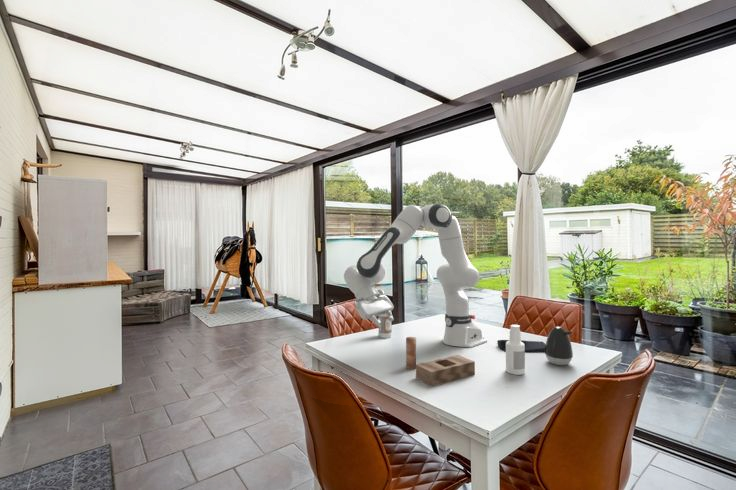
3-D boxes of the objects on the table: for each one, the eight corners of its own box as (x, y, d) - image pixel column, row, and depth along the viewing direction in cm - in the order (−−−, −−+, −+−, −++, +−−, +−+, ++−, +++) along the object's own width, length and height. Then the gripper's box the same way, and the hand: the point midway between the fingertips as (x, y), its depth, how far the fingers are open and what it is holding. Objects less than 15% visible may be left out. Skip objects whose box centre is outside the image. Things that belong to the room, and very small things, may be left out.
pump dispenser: (564, 369, 137) (564, 331, 137) (539, 362, 146) (539, 325, 146) (578, 364, 143) (578, 327, 143) (553, 357, 152) (553, 322, 151)
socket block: (458, 367, 141) (457, 354, 141) (474, 374, 134) (474, 361, 133) (416, 377, 131) (415, 364, 131) (431, 386, 123) (431, 372, 123)
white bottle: (523, 376, 131) (523, 328, 131) (504, 373, 135) (503, 326, 135) (526, 370, 137) (525, 324, 137) (507, 367, 141) (507, 322, 140)
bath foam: (383, 339, 182) (383, 300, 182) (376, 336, 188) (375, 299, 188) (394, 337, 186) (393, 299, 186) (386, 334, 192) (386, 297, 192)
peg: (412, 365, 144) (412, 336, 144) (418, 368, 141) (418, 338, 140) (404, 367, 142) (404, 337, 142) (410, 370, 139) (409, 340, 138)
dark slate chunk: (553, 354, 157) (553, 344, 157) (502, 353, 159) (502, 343, 159) (541, 344, 172) (541, 334, 172) (494, 343, 174) (494, 334, 174)
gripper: (356, 295, 145) (375, 322, 139) (385, 290, 161) (403, 313, 155) (348, 305, 148) (366, 332, 142) (377, 298, 164) (395, 322, 158)
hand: (386, 322), depth 149 cm, fingers open, 8 cm apart
